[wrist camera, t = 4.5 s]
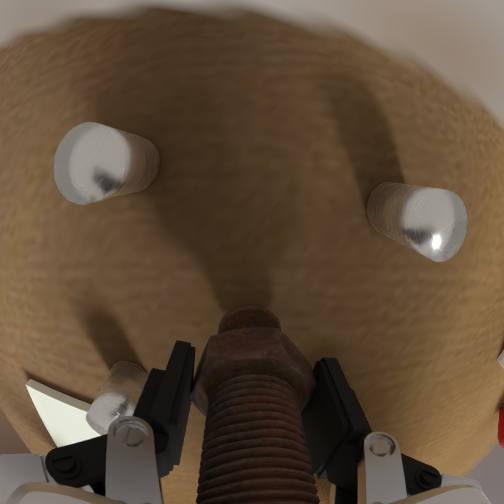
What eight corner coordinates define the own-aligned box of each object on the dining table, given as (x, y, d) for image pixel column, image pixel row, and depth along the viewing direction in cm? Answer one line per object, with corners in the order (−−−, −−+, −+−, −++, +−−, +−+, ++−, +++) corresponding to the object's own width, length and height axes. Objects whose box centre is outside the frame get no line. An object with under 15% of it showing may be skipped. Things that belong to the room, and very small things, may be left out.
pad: (131, 416, 18) (128, 425, 17) (146, 474, 21) (144, 481, 20) (30, 378, 17) (25, 384, 16) (62, 445, 20) (60, 451, 19)
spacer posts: (414, 189, 14) (472, 200, 9) (335, 412, 18) (352, 460, 13) (112, 135, 12) (59, 123, 7) (114, 386, 17) (91, 433, 12)
